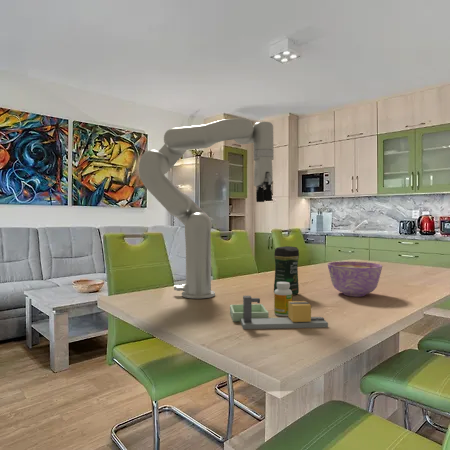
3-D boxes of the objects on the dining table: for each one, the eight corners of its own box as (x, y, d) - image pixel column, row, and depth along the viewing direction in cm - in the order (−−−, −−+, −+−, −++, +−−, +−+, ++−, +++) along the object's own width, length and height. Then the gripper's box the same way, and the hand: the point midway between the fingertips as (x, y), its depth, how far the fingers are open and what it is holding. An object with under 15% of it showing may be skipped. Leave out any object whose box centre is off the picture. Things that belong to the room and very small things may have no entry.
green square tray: (232, 321, 103) (232, 313, 103) (229, 312, 114) (229, 304, 114) (268, 321, 104) (268, 312, 104) (262, 312, 114) (262, 304, 114)
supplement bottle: (288, 317, 108) (288, 284, 108) (271, 315, 111) (271, 283, 111) (294, 313, 112) (294, 282, 112) (278, 311, 115) (278, 280, 115)
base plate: (243, 329, 97) (243, 322, 97) (240, 322, 103) (240, 316, 103) (327, 327, 98) (327, 320, 98) (320, 320, 104) (320, 315, 104)
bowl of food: (317, 294, 140) (317, 264, 140) (341, 287, 155) (341, 260, 155) (370, 302, 127) (370, 269, 127) (390, 293, 141) (390, 264, 141)
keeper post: (244, 327, 99) (244, 297, 98) (243, 324, 101) (243, 295, 101) (260, 326, 99) (260, 297, 99) (258, 324, 101) (258, 295, 101)
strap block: (292, 321, 98) (292, 305, 98) (288, 316, 103) (288, 300, 103) (311, 321, 98) (311, 304, 98) (305, 316, 103) (305, 300, 103)
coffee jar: (286, 297, 135) (286, 247, 135) (270, 294, 141) (270, 246, 141) (302, 294, 141) (302, 246, 141) (286, 291, 147) (286, 245, 147)
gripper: (248, 159, 145) (248, 202, 145) (259, 151, 128) (260, 200, 128) (266, 159, 146) (267, 202, 147) (280, 151, 129) (280, 200, 130)
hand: (263, 201), depth 138 cm, fingers open, 9 cm apart
